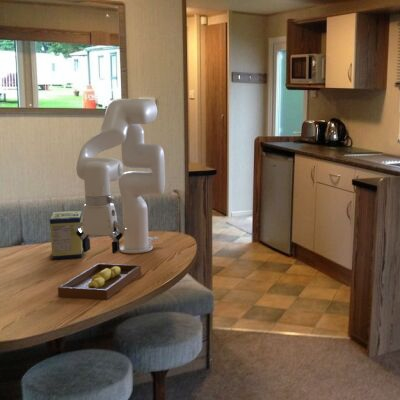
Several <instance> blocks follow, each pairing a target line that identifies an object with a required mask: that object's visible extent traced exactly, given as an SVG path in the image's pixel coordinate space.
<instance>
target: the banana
mask: <svg viewBox="0 0 400 400" xmlns="http://www.w3.org/2000/svg"><path fill="white" fill-rule="evenodd" d="M120 272H121V269H120V267H118V266H114V267H113V268H111V269H108V268H106V269H104V270H102V271H100V272H99V273H97V274H96V275H94V276H93V277H92V281H91V282H90V283H89V284H88V288H93V289H98V288H99V287H101V286H102V285H103V284H104V283H105V281H107V280H108V279H112V278H114V277H115V276H117V275H118V274H119V273H120Z"/></svg>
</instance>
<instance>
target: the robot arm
mask: <svg viewBox="0 0 400 400" xmlns="http://www.w3.org/2000/svg"><path fill="white" fill-rule="evenodd" d="M157 117H158V106H157V104H156V102H155V100H153V99H145V98H144V99H143V98H116V99H115V98H114V99H112V100H110V102H109V103H108V104H107V106H106V109H105V112H104V117H103V120H102V124H101V126H100V127H101V128H100V131H99V132H98V133H96V134H95V135H93V136H92V137H91V138H89V139H88V140H87V141H86V142H85V143H84V144H83V146H82V147H81V148H80V150H79V154H78V158H77V161H76V169H75V170H76V175H77V177H78V178H79V179H81V180H83V182H84V183H83V184H84V198H85V204H83V209H82V222H81V223H79V224H77V225H75V226H73V228H74V230H75V231H76V234H77V235H78V236H79V237H80V239H81V240H82V247H83V253H86V252H87V253H88V251H90V250H91V240H90V237H89V236H97V237H98V236H99V237H100V236H101V237H109V238H110V239H111V240H112V242H111V253H112V254H114V255H115V254H117V253H118V252H119V251H120V252H121V253H124V254H142V253H147V252H151V251H152V250H154V245H152V243H155V242H158V241H159V236H153V237H152V236H149V213H148V211H149V210H148V205H147V203H146V201H145V200H144V198H143V197H147V196H148V197H158V196H162V195H163V194H164V193H165V190H166V160H165V159H166V158H165V152H164V149H163V147H162V146H161V145H160V144H156V143H145V131H144V128H143V127H142V125H147V124H151V123H154V122H155V120H156V119H157ZM118 146H121V149H120V150H121V160H120V159H118V158H113V157H95V156H96V155H98V154H100V153H102V152H105V151H107V150H110V149H114V148H115V147H118ZM125 167H126V168H130V169H150V170H151V171H142V170H141V171H140V170H139V171H138V170H135V171H134V170H131V171H125V172H124V169H125ZM115 181H118V188H119V193H120V198H121V211H122V224H120V223H119V222H118V216H117V211H116V207H115V204H114V203H112V202H115V201H116V200H115V199H116V198H115V197H113V196H112V194H111V182H115ZM81 226H82V227H83V232H82V231H81V230H80V227H81ZM118 231H119V233H118ZM122 238H123V245H121V246H120V240H121V239H122Z"/></svg>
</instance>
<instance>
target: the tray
mask: <svg viewBox="0 0 400 400" xmlns="http://www.w3.org/2000/svg"><path fill="white" fill-rule="evenodd" d="M114 266H118V267H120V269H121V272H120V273H119V274H118V275H117V276H115V277H114V278H112V279H108V280H107V281H105V283H104V284H103V285H102V286H101V287H99V288H98V289H93V288H88V284H89V283H90V282H91V281H92V277H93V276H94V275H96V274H97V273H99V272H100V271H102V270H104V269H106V268H108V269H111V268H113V267H114ZM141 274H142V266H141V264H125V263H124V264H120V263H101V262H97V263H95V264H94V265H92V266H91V267H89V268H88V269H86V270H84V271H82V272H81V273H79V274H78V275H76V276H74V277H72V278H71V279H69V280H68V281H66V282H64V283H62V284H61V285H59V286H58V287H57V296H58V298H75V299H76V298H77V299H90V300H91V299H94V300H109V299H110V298H111V297H112V296H114V295H115V294H117V292H119V291H120V290H121V289H123V288H124V287H125V286H127V285H128V284H129V283H130V282H132V281H133V280H134V279H136V278H137V277H138V276H140V275H141Z"/></svg>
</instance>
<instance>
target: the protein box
mask: <svg viewBox="0 0 400 400" xmlns="http://www.w3.org/2000/svg"><path fill="white" fill-rule="evenodd" d="M82 217H83V209H82V210H81V209H79V210H57V211H53V212H52V215H51V216H50V219H49V229H50V230H49V231H50V240H51V241H50V242H51V244H50V245H51V256H52V257H51V259H52V260H53V261H55V260H68V259H69V260H70V259H82V258H83V255H84V250H83V247H82V240H81V239H80V237H79V236H78V235H77V234H76V231H75V230H74V228H73V226H75V225H77V224H79V223H81V222H82ZM80 230H81V231H82V232H83V227H82V226H81V227H80Z"/></svg>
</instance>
